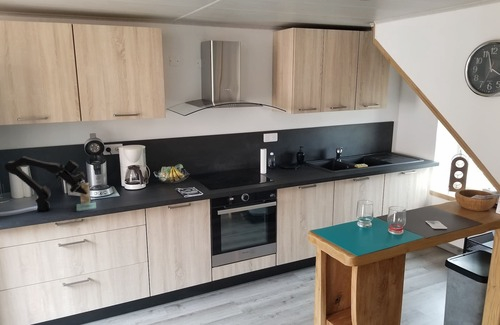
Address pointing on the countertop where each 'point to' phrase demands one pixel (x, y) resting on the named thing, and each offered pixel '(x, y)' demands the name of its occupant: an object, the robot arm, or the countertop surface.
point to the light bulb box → (73, 192)
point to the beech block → (85, 197)
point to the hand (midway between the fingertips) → (87, 192)
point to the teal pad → (86, 206)
